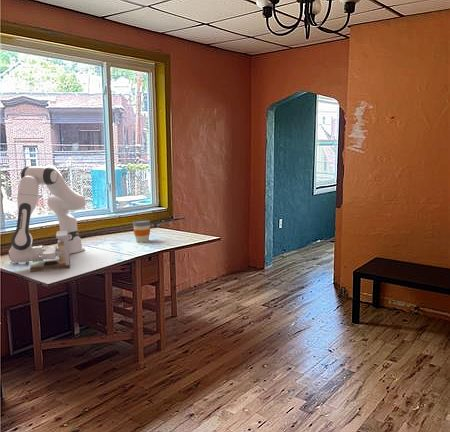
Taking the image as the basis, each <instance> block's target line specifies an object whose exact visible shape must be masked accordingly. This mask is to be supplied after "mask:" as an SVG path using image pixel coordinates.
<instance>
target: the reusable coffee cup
mask: <svg viewBox="0 0 450 432" xmlns="http://www.w3.org/2000/svg"><path fill="white" fill-rule="evenodd" d="M132 226H133V234H134V238H135V241H136V243H141V244H143V243H149V240H150V234H151V227H150V226H151V221H150V220H149V219H138V220H133V221H132Z"/></svg>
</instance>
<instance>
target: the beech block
mask: <svg viewBox="0 0 450 432" xmlns="http://www.w3.org/2000/svg"><path fill="white" fill-rule="evenodd" d="M57 248H58V252H59V251H65V250H64V241H63V242H58V241H57ZM58 259H59V263H65V254H62V255H58Z"/></svg>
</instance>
